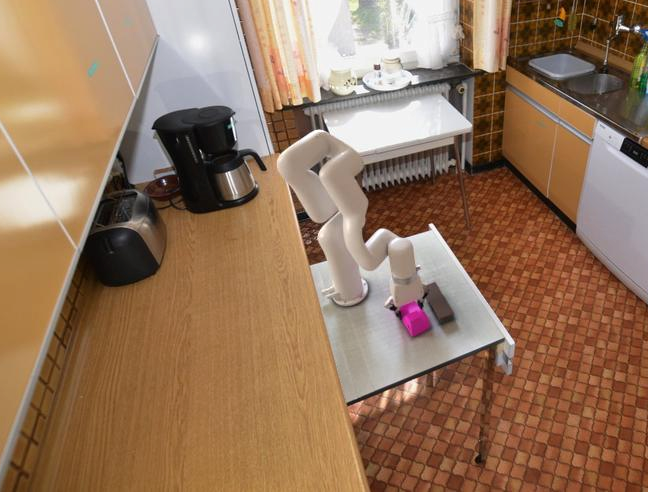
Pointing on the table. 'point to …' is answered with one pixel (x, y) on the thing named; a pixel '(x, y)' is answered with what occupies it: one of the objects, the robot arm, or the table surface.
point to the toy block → (414, 318)
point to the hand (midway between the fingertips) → (410, 312)
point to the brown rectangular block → (439, 303)
